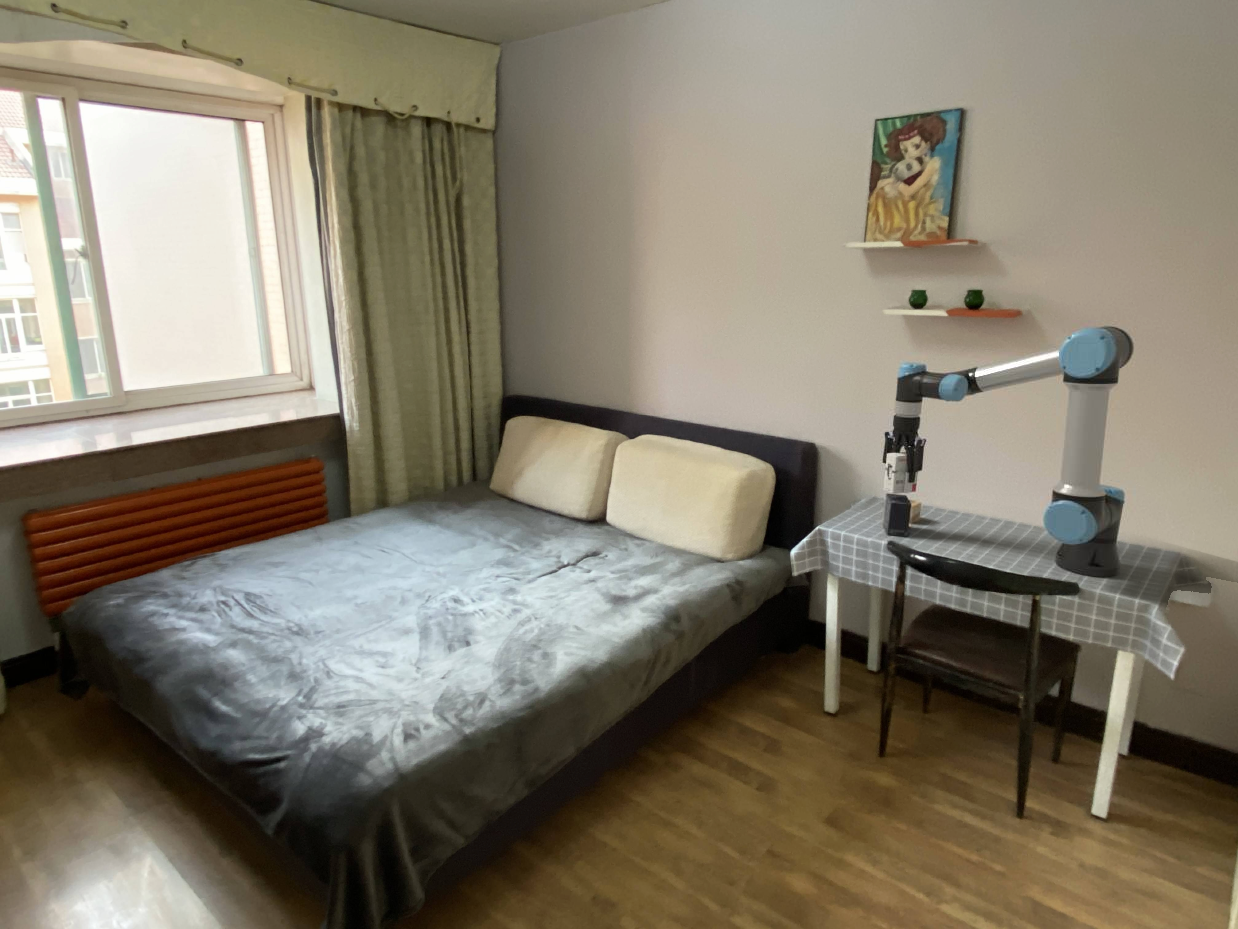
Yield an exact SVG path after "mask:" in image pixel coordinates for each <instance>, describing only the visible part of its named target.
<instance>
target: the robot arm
mask: <svg viewBox="0 0 1238 929" xmlns="http://www.w3.org/2000/svg"><path fill="white" fill-rule="evenodd" d="M1134 346H1135V345H1134V342H1133V339H1132V337H1131V336H1130V334H1129V333H1128V332H1127V331H1125V330H1124V329H1122V328H1119V327H1117V326H1107V325H1105V326H1098V327H1097V326H1096V327H1094V326H1092V327H1085V328H1081V329H1079V330H1077V331H1075V332H1072V333H1071V334H1070V335H1068V336H1067V337H1066V338H1065V339H1064V341H1063V342H1062V343H1061V345H1060V346H1056V347H1052V348H1048V349H1044V350H1039V351H1037V352H1033V353H1028V354H1025V355H1020V356H1014V357H1012V358H1008V359H1005V360H1000V361H996V362H992V363H988V364H984V365H980V366H975V367H971V368H967V369H964V370H963V369H962V370H957V371H951V372H933V371H932V372H931V371H928V370H927V365H926V364H925V363H922V362H902V363H900V365H899V368H898V372H897V377H896V379H897V382H896V393H895V394H896V395H895V396H896V397H895V401H894V408H893V409H894V410H893V412H894V415H893V420H892V427H893V429H892V430H891V431H885V432H884V438H885V439H884V446H883V452H882V453H883V455H882V463H883V464H885V465H886V458H887V453H898V452H902V448H904V449H903V450H905V452H906V457H907V465H908V471H907V472H906V474H905V483H904V492H903V493H902V494H910V493H913V492H912V484H913V483H914V481H915V474H916V472H918V473H919V472H921V471H922V470H923V465H924V464H923V463H924V452H925V451H924V450H925V446H926V443H927V439H926V438H921V437H920V436H919V433H918V430H919V429H920V427H921V426H920V425H921V417H920V415H922V408H923V405H922V404H923V398H927V399H931V400H932V399H933V400H939V401H940V400H941V401H945V402H957V403H958V402H961V401H962V400H964V399H965V398H966V397H967V396H969V397H970V396H973V395H976V394H980V393H985V392H989V391H993V390H997V389H998V390H999V389H1003V388H1007V387H1013V386H1017V385H1022V384H1025V383H1030V382H1035V381H1039V380H1044V379H1048V378H1053V377H1057V376H1063V379H1062V383H1063V384H1064V385H1065V386H1066V387H1067V389H1068V398H1067V399H1068V400H1067V406H1066V407H1067V409H1066V418H1065V430H1064V441H1063V449H1062V451H1063V452H1062V460H1061V469H1060V470H1061V471H1060V472H1061V473H1060V481H1059V482H1058V483H1057V484H1056V485H1054V486H1053V487H1052V492H1051V493H1052V494H1051V503H1050V504H1049V505H1048V506H1047V507H1046V509H1045V511H1044V513H1043V518H1042V520H1043V525H1044V528H1045V531H1047V533H1048V534H1049V535H1050V536H1051V538H1053V539H1055V540H1056V541H1057V542H1060V543H1061V544H1060V546H1059V547H1058V549H1057V550H1056V553H1055V557H1054V563H1055V564H1056V565H1057V566H1058V567H1060V568H1062V569H1063V570H1065V571H1066V570H1067V571H1070V572H1072V573H1076V574H1079V575H1080V574H1081V575H1084V576H1091V577H1101V578H1102V577H1104V578H1105V577H1106V578H1108V576H1110V577H1115V576H1117V575H1119V574H1120V571H1121V570H1120V569H1121V559H1120V557H1119V556H1120V555H1119V551H1118V546H1117V541H1118V537H1119V536H1118V535H1119V530H1120V525H1121V520H1122V513H1123V508H1124V504H1125V491H1124V490H1123V489H1121V488H1118V487H1115V486H1112V485H1107V484H1101V475H1102V466H1103V465H1102V463H1103V458H1104V457H1103V456H1104V446H1105V436H1106V429H1107V420H1108V410H1109V399H1110V391H1111V390H1112V389H1113V388H1115V387H1116V386H1117V385H1118V383H1119V375H1120V369H1122V368H1124V367H1125V366H1126V365H1127V364H1128V363H1129V361H1130V360H1131V358H1132V356H1133V354H1134V349H1135V347H1134Z"/></svg>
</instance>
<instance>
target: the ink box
mask: <svg viewBox="0 0 1238 929" xmlns="http://www.w3.org/2000/svg"><path fill="white" fill-rule="evenodd" d="M907 471H908V465H907V457H906V451H900V452H898V453H887V458H886V464H885V471H884V481H883V491H886V492H888V493H889V494H904V493H903V492H904V483H905V474H906V472H907ZM918 475H919V471H918V472H916V474H915V481H914V483H913V484H912V492H911V493H915V492H916V491H917V483H918Z"/></svg>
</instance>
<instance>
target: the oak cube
mask: <svg viewBox="0 0 1238 929" xmlns="http://www.w3.org/2000/svg"><path fill="white" fill-rule="evenodd" d="M909 501H910V503H911V512H910V520H909V525H910V524H914V523H916V522H918V521H919V520H920V519H921V518H920V517H921V508H922V501H917V500H912V499H909Z"/></svg>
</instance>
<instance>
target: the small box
mask: <svg viewBox="0 0 1238 929" xmlns="http://www.w3.org/2000/svg"><path fill="white" fill-rule="evenodd" d="M909 500H910V499H909V498H908V496H907V494H899V493H896V494H892V493H889V492H888V493H886V494H885V504H884V512H883V521H882V526H883V528H884V531H885V534H886V535H887V536H900V537H908V535H909V529H910V523H909V520H910V512H911V503H910V501H909Z"/></svg>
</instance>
